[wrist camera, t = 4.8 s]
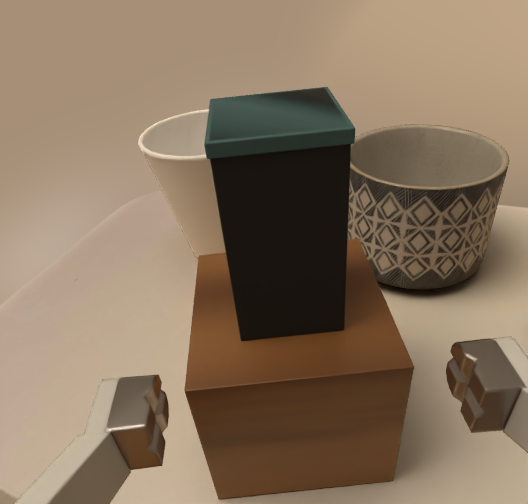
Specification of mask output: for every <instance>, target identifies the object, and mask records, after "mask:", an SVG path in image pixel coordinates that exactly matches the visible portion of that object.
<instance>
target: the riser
mask: <svg viewBox="0 0 528 504" xmlns="http://www.w3.org/2000/svg"><path fill="white" fill-rule="evenodd" d="M413 370H414V366H413V364H412V361H411V359H410V357H409V354H408V352H407V350H406V347H405V345H404V343H403V340H402V338H401V336H400V333H399V331H398V329H397V326H396V324H395V322H394V320H393V317H392V315H391V313H390V310H389V308H388V306H387V303H386V301H385V299H384V296H383V294H382V292H381V289H380V287H379V285H378V282H377V280H376V278H375V276H374V273H373V271H372V269H371V266H370V264H369V262H368V259H367V257H366V255H365V252H364V250H363V248H362V245H361V243H360V241H359V239H350V240H348V241H347V269H346V297H345V324H344V330H342V331H332V332H323V333H313V334H304V335H294V336H285V337H275V338H266V339H256V340H247V341H241V339H240V333H239V327H238V321H237V315H236V309H235V304H234V298H233V292H232V286H231V280H230V274H229V268H228V262H227V257H226V253H217V254H208V255H199V259H198V268H197V278H196V287H195V297H194V306H193V316H192V326H191V335H190V345H189V354H188V364H187V374H186V383H185V394H186V397H187V400H188V403H189V406H190V410H191V413H192V416H193V419H194V422H195V426H196V429H197V432H198V435H199V438H200V441H201V445H202V448H203V451H204V454H205V457H206V461H207V464H208V467H209V470H210V473H211V477H212V480H213V483H214V486H215V489H216V492H217V496H218V499H224V498H234V497H243V496H253V495H262V494H271V493H281V492H290V491H300V490H309V489H319V488H328V487H338V486H347V485H357V484H366V483H376V482H385V481H393V477H394V472H395V467H396V461H397V456H398V450H399V445H400V440H401V434H402V429H403V424H404V418H405V413H406V407H407V402H408V397H409V391H410V386H411V380H412V375H413Z"/></svg>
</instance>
